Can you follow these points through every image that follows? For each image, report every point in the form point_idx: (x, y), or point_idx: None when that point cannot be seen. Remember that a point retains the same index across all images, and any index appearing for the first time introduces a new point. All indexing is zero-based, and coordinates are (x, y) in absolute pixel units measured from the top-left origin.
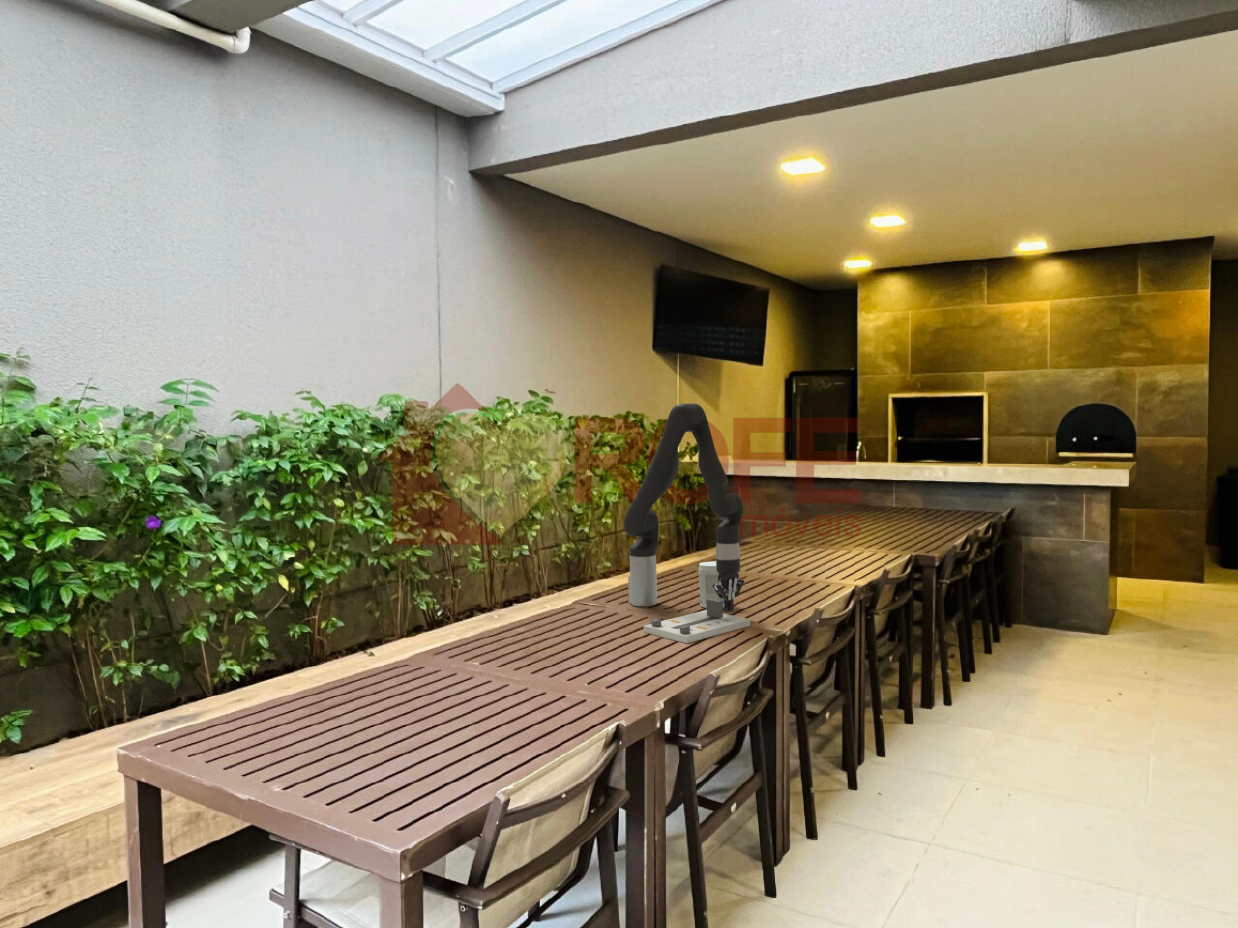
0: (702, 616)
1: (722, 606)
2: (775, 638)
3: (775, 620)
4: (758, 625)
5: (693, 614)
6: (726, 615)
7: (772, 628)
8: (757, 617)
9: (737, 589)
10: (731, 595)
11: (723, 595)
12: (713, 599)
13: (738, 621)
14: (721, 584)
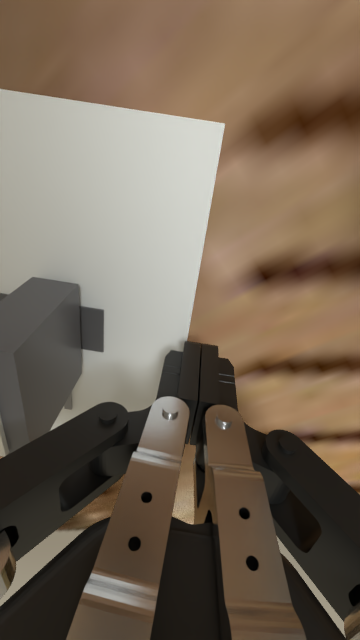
0: (23, 238)
1: (47, 425)
2: (83, 528)
3: None
4: (193, 454)
5: (10, 128)
6: (158, 349)
7: (184, 496)
8: (338, 404)
9: (288, 545)
10: (196, 476)
11: (62, 482)
12: (16, 382)
13: None
14: (31, 597)
